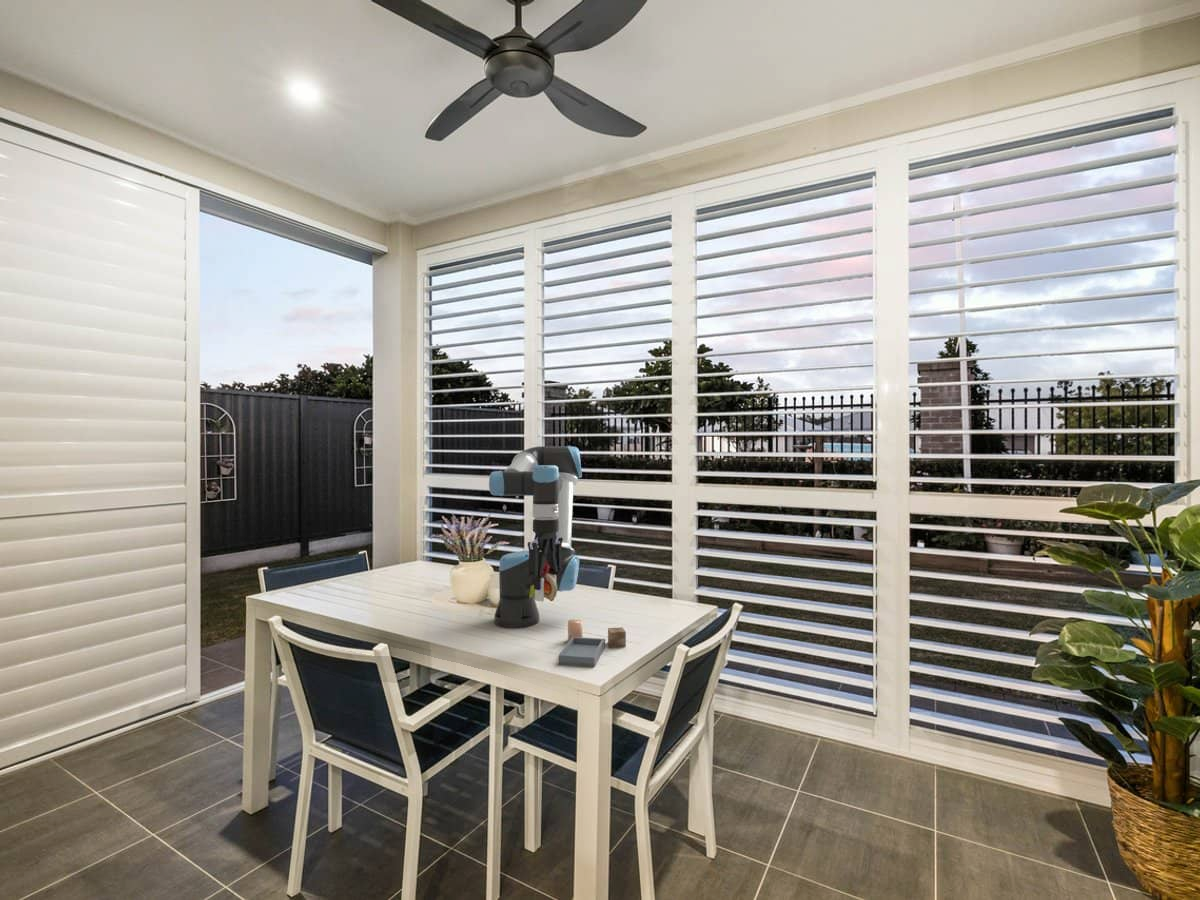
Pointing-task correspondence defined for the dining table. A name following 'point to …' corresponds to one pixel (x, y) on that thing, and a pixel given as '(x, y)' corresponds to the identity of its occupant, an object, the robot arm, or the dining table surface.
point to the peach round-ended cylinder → (574, 628)
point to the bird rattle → (546, 585)
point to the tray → (582, 652)
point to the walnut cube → (616, 637)
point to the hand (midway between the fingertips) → (545, 598)
